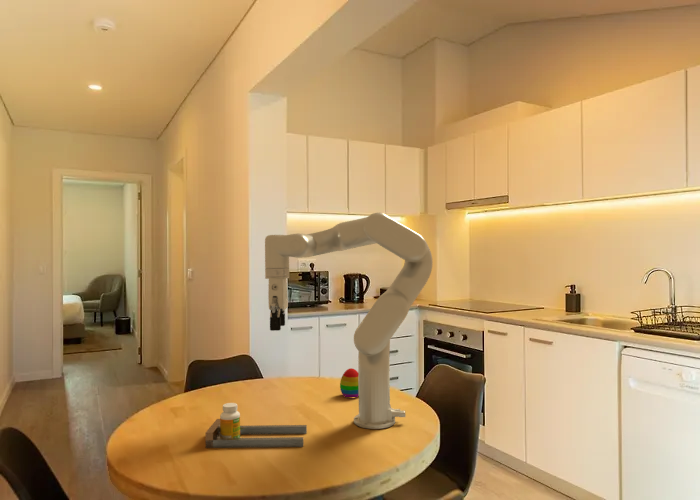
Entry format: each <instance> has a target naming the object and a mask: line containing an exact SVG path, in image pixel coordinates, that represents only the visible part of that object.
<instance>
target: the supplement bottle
mask: <svg viewBox="0 0 700 500" xmlns="http://www.w3.org/2000/svg"><path fill="white" fill-rule="evenodd" d="M219 417H220V418H219V419H220V438H241V434H240V426H241V413H240V411H238V404H237V403H236V402H226V403H224V404H223V405H222V412H221V414H220V416H219Z"/></svg>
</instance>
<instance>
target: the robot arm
mask: <svg viewBox="0 0 700 500" xmlns="http://www.w3.org/2000/svg"><path fill="white" fill-rule="evenodd" d="M371 245H379V246H381V247H382V248H383V249H385V250H387V251H389V252H391V253H392V254H394V255H395V256H397V257H399V258H400V259H402V260H404V265H403V267H402V268H401V269H400V271H399V272H398V274H397V275H396V277H395V278H394V280H393V282H391V284H390V286H389V287H388V288H387V290H386V291H384V293H382V294H381V295H379V297H378V298H377V299H376V301H375V302H374V304H373V305H372V306H371V308H370V309H369V311H368V312H367V314H366V315H365V316H364V318H363V319H362V320H361V322H360V323H359V325H358V326H357V328H356V330H355V331H354V334H353V343H354V347H355V349H357V351H358V358H357V359H358V360H357V361H358V364H357V365H358V369H357V372H358V384H359V397H358V414H356V415H355V416H354V417H353V423H354V424H355V426H357V427H360V428H364V429H370V430H379V429H380V430H381V429H387V428H389V427H390V428H391V427H392V426H394V425H395V424H396V418H406V410H404V409H403V410H401V408H393V407H392V405H391V401H390V400H391V396H390V395H391V392H390V391H391V390H390V387H391V385H390V381H391V380H390V370H391V369H390V366H391V365H390V364H391V363H390V361H391V360H390V352H391V351H390V349H391V348H390V347H391V339H392V338H393V336H394V335H395V333H396V332H397V331H398V329H399V328H400V326H401V325H402V323H403V322H404V320H405V319H406V318H407V316H408V313H409V310H410V308H411V307H412V305H413V303H414V302H415V301H416V299H417V298H418V297H419V295H420V294H421V292H422V290H423V288H425V286H426V284H427V282H428V281H429V278H430V276H431V275H432V270H433V256H432V255H433V254H432V251H431V249H430V246H429V244H428V242H427V241H426V239H425V238H424V237H423V236H422V235H421V234H419V233H417V232H416V231H414V230H412V229H410V228H409V227H408V226H406V225H404V224H402V223H400V222H399V221H397V220H395V219H394V218H392V217H390V215H388V214H387V213H383V212H373V213H371V214H370V215H368V216H364V217H362V218H358V219H353V220H347V221H343V222H339V223H337V224H335V225H334V226H333V227H330V228H328V229H325V230H321V231H316V232H312V233H307V234H305V233H290V234H268V235H267V236H265V239H264V264H265V266H264V269H265V270H264V271H265V275H264V277H265V278H264V279H267V280H268V285H267V286H268V290H267V291H268V292H267V293H268V295H267V296H268V298H267V299H268V309H269V310H270V313H269V314H270V315H269V330H270V331H271V332H272V331H273V332H274V331H276V332H277V331H281V329H282V328H281V327H284V326H285V325H286V313H285V310H287V308H288V307H289V300H288V299H289V298H288V297H289V296H288V282H287V279H290V258H297V259H298V258H299V259H300V258H311V257H312V258H313V257H315V256H321V255H325V254H328V253H334V252H341V251H346V250H351V249H357V248H361V247H366V246H371Z"/></svg>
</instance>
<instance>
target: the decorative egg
mask: <svg viewBox="0 0 700 500" xmlns="http://www.w3.org/2000/svg"><path fill="white" fill-rule="evenodd" d="M339 388H340V392H341V395H342V396H343V397H344V396H345V397H344V398H346V397H357V398H359V397H358V396H359V384H358V370H356V369H354V368H348V369H346V370H345V371H344V373H343V374H342V376H341V379H340V382H339Z"/></svg>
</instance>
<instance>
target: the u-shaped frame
mask: <svg viewBox="0 0 700 500" xmlns="http://www.w3.org/2000/svg"><path fill="white" fill-rule="evenodd" d="M307 428H308V427H307V424H281V425H280V424H279V425H277V424H275V425H270V424H269V425H266V424H263V425H240V435H307V433H308V429H307ZM303 447H304V436H303V437H302V436H301V437H299V436H297V437H295V436H294V437H286V436H285V437H276V436H275V437H240V438H220V418H216V420H215V421H214V422H213V423H212V424H211V425H210V426H209V428H208V429H207V430H206V431H205V449H213V448H214V449H215V448H216V449H218V448H220V449H221V448H222V449H223V448H224V449H225V448H228V449H229V448H236V449H237V448H303Z"/></svg>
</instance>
